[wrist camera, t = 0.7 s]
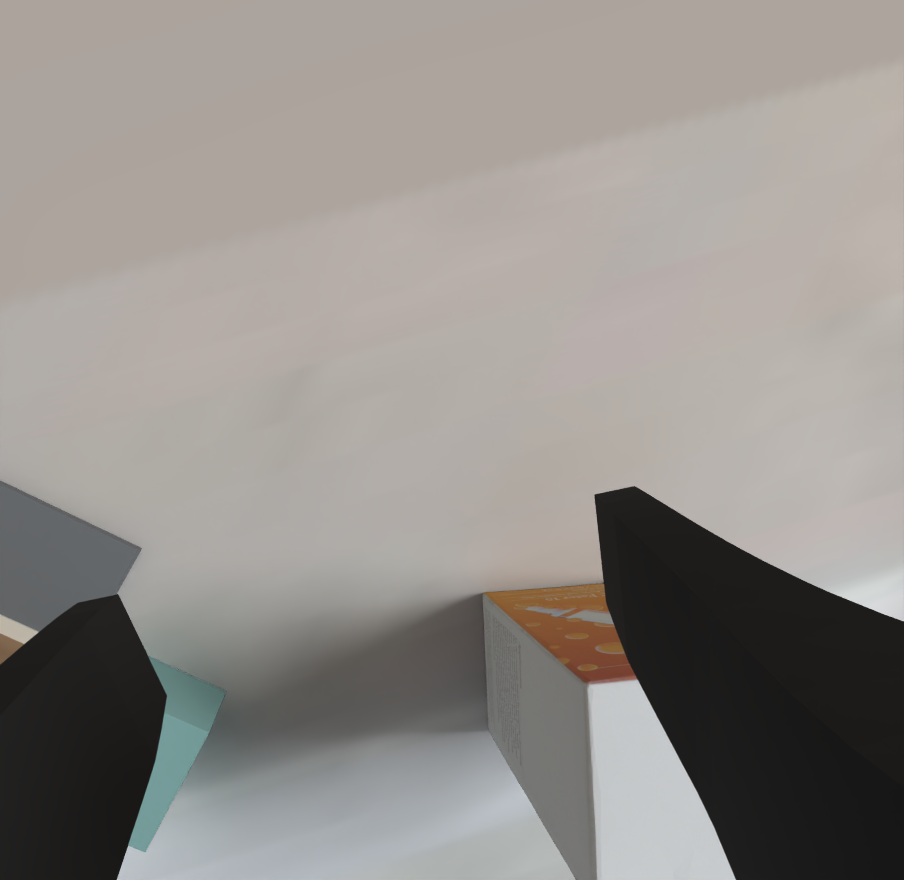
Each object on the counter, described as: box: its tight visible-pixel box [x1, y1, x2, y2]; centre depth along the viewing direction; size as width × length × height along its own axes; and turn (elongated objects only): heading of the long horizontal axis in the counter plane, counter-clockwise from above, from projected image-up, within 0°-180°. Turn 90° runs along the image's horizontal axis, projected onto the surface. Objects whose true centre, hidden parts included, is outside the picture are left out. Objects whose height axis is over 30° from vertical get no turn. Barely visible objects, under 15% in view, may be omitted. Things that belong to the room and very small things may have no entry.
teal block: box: [128, 656, 226, 852], centre depth 27 cm, size 4×4×4 cm
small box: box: [483, 583, 736, 880], centre depth 26 cm, size 8×6×13 cm
